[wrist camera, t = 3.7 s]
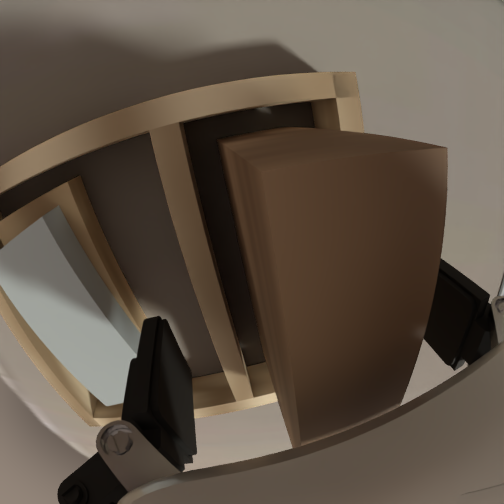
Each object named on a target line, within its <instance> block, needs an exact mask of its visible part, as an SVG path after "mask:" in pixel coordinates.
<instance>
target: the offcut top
mask: <svg viewBox="0 0 504 504" xmlns="http://www.w3.org/2000/svg"><path fill="white" fill-rule="evenodd" d="M0 285H1V287H2V288H3V290H4V291H5V293H6V294H7V296H8V297H9V299H10V300H11V302H12V303H13V304H14V306H15V307H16V309H17V310H18V311H19V313H20V314H21V315H22V317H23V318H24V319H25V321H26V322H27V323H28V325H29V326H30V327H31V328H32V330H33V331H34V332H35V333H36V335H37V336H38V337H39V338H40V340H41V341H42V342H43V343H44V344H45V345H46V347H47V348H48V349H49V350H50V351H51V352H52V353H53V355H54V356H55V357H56V358H57V359H58V360H59V361H60V362H61V363H62V364H63V365H64V366H65V367H66V369H67V370H68V371H69V372H70V373H71V374H72V375H73V376H74V377H75V378H76V379H77V380H78V381H79V382H80V383H81V384H82V385H84V386H85V387H86V388H87V389H88V390H89V391H90V392H91V393H92V394H93V395H94V396H95V397H96V398H98V399H99V400H100V401H101V402H102V403H103V404H104V405H106V406H111V405H116V404H120V403H123V402H124V395H125V389H126V383H127V377H128V371H129V366H130V362H131V360H132V359H133V358H136V357H137V351H138V346H139V340H140V335H141V333H140V332H139V330H138V329H137V328H136V327H135V325H134V324H133V323H132V321H131V320H130V319H129V317H128V316H127V315H126V313H125V312H124V310H123V309H122V308H121V306H120V305H119V303H118V302H117V301H116V299H115V298H114V296H113V295H112V293H111V292H110V291H109V289H108V288H107V286H106V285H105V283H104V282H103V280H102V279H101V277H100V276H99V274H98V272H97V271H96V269H95V268H94V266H93V265H92V263H91V261H90V260H89V258H88V257H87V255H86V253H85V252H84V250H83V248H82V247H81V245H80V243H79V241H78V240H77V238H76V236H75V234H74V233H73V231H72V229H71V227H70V226H69V224H68V222H67V220H66V218H65V216H64V214H63V213H62V211H61V209H60V207H59V205H58V206H57V207H55V208H54V209H52V210H51V211H50V212H48V213H47V214H45V215H44V216H42V217H41V218H40V219H38V220H37V221H36V222H34V223H33V224H32V225H30V226H29V227H28V228H26V229H25V230H24V231H22V232H21V233H20V234H19V235H17V236H16V237H15V238H14V239H12V240H11V241H10V242H9V243H8V244H6V245H5V246H4V247H3V248H2V249H0Z"/></svg>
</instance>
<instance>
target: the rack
mask: <svg viewBox="0 0 504 504" xmlns="http://www.w3.org/2000/svg"><path fill="white" fill-rule="evenodd" d="M302 102H311V106H312V112H313V118H314V125H315V128H318V129H331V130H342V131H351V132H360V133H364V127H363V119H362V111H361V104H360V97H359V91H358V84H357V79H356V73H355V72H316V73H298V74H285V75H274V76H265V77H257V78H250V79H243V80H237V81H230V82H225V83H219V84H214V85H209V86H204V87H199V88H195V89H190V90H186V91H182V92H178V93H174V94H170V95H166V96H163V97H159V98H156V99H152V100H149V101H145V102H142V103H139V104H136V105H133V106H130V107H127V108H124V109H121V110H118V111H115V112H112V113H110V114H107V115H104V116H102V117H99V118H96V119H94V120H91V121H89V122H86V123H84V124H82V125H79V126H77V127H75V128H72V129H70V130H68V131H66V132H64V133H61V134H59V135H57V136H55V137H53V138H51V139H49V140H47V141H45V142H43V143H41V144H39V145H37V146H35V147H33V148H31V149H29V150H28V151H26V152H24V153H22V154H20V155H19V156H17V157H15V158H13V159H12V160H10V161H8V162H7V163H5V164H3V165H2V166H0V195H1V194H3V193H5V192H7V191H8V190H10V189H12V188H14V187H16V186H18V185H20V184H21V183H23V182H25V181H27V180H29V179H31V178H33V177H35V176H37V175H39V174H42V173H44V172H46V171H48V170H50V169H52V168H54V167H57V166H59V165H61V164H64V163H66V162H68V161H71V160H73V159H75V158H78V157H80V156H83V155H85V154H88V153H90V152H93V151H96V150H98V149H101V148H104V147H106V146H109V145H112V144H115V143H118V142H121V141H124V140H127V139H130V138H133V137H136V136H139V135H142V134H146V133H149V132H150V137H151V141H152V145H153V149H154V154H155V158H156V162H157V166H158V170H159V174H160V177H161V181H162V185H163V189H164V193H165V196H166V200H167V204H168V207H169V211H170V214H171V218H172V221H173V225H174V228H175V231H176V235H177V238H178V241H179V245H180V248H181V251H182V254H183V258H184V261H185V264H186V267H187V270H188V273H189V276H190V279H191V282H192V285H193V288H194V291H195V294H196V297H197V300H198V303H199V306H200V309H201V312H202V314H203V317H204V320H205V323H206V326H207V328H208V331H209V334H210V337H211V339H212V342H213V345H214V347H215V350H216V352H217V355H218V358H219V360H220V363H221V365H222V368H223V370H224V372H221V373H216V374H211V375H206V376H201V377H196V378H192V386H193V405H194V419H195V418H201V417H207V416H213V415H219V414H224V413H229V412H234V411H239V410H244V409H248V408H253V407H257V406H261V405H265V404H269V403H273V402H277V401H278V399H277V396H276V393H275V390H274V386H273V383H272V380H271V377H270V373H269V370H268V367H267V364H266V362H264V363H260V364H256V365H252V366H248V367H246V364H245V360H244V357H243V354H242V350H241V347H240V344H239V340H238V337H237V334H236V330H235V327H234V323H233V320H232V316H231V313H230V309H229V306H228V302H227V299H226V295H225V292H224V288H223V284H222V281H221V277H220V273H219V270H218V266H217V262H216V258H215V255H214V251H213V247H212V243H211V239H210V235H209V231H208V228H207V224H206V220H205V216H204V212H203V208H202V204H201V199H200V195H199V191H198V187H197V183H196V179H195V174H194V170H193V166H192V161H191V157H190V153H189V148H188V144H187V139H186V135H185V130H184V125H183V123H186V122H190V121H194V120H198V119H203V118H207V117H212V116H217V115H222V114H227V113H232V112H237V111H243V110H249V109H255V108H262V107H268V106H276V105H284V104H292V103H302ZM1 220H3V217H2V214H1V211H0V221H1ZM3 247H4V246H3V243H2V241H1V239H0V249H2V248H3ZM0 313H1V315H2V317H3V318H4V320H5V322H6V323H7V325H8V327H9V328H10V330H11V331H12V333H13V334H14V336H15V337H16V339H17V340H18V342H19V343H20V345H21V346H22V348H23V349H24V351H25V352H26V353H27V355H28V356H29V358H30V359H31V360H32V362H33V363H34V364H35V366H36V367H37V368H38V369H39V371H40V372H41V373H42V375H43V376H44V377H45V378H46V380H47V381H48V382H49V383H50V384H51V386H52V387H53V388H54V389H55V390H56V391H57V393H58V394H59V395H60V396H61V397H62V398H63V399H64V400H65V401H66V403H67V404H68V405H69V406H70V407H71V408H72V409H73V410H74V411H75V412H76V413H77V414H78V415H79V416H80V417H81V418H82V419H83V420H84V421H85V422H86V423H87V424H88V425H89V426H105V425H106V424H108V423H110V422H113V421H116V420H121V416H122V409H123V403H120V404H116V405H111V406H106V405H104V404H103V403H102V402H101V401H100V400H99V399H98V398H96V397H95V396H94V395H93V394H92V393H91V392H90V391H89V390H88V389H87V388H86V387H85V386H84V385H82V384H81V383H80V382H79V381H78V380H77V379H76V378H75V377H74V376H73V375H72V374H71V373H70V372H69V371H68V370H67V369H66V367H65V366H64V365H63V364H62V363H61V362H60V361H59V360H58V359H57V358H56V357H55V356H54V355H53V353H52V352H51V351H50V350H49V349H48V348H47V347H46V345H45V344H44V343H43V342H42V341H41V340H40V338H39V337H38V336H37V335H36V333H35V332H34V331H33V330H32V328H31V327H30V326H29V325H28V323H27V322H26V321H25V319H24V318H23V317H22V315H21V314H20V313H19V311H18V310H17V309H16V307H15V306H14V304H13V303H12V302H11V300H10V299H9V297H8V296H7V294H6V293H5V291H4V290H3V288H2V287H1V285H0Z"/></svg>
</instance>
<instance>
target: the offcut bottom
mask: <svg viewBox="0 0 504 504" xmlns="http://www.w3.org/2000/svg"><path fill="white" fill-rule="evenodd" d="M58 205H59V207H60V209H61V211H62V213H63V214H64V216H65V218H66V220H67V222H68V224H69V226H70V227H71V229H72V231H73V233H74V234H75V236H76V238H77V240H78V241H79V243H80V245H81V247H82V248H83V250H84V252H85V253H86V255H87V257H88V258H89V260H90V261H91V263H92V265H93V266H94V268H95V269H96V271H97V272H98V274H99V276H100V277H101V279H102V280H103V282H104V283H105V285H106V286H107V288H108V289H109V291H110V292H111V293H112V295H113V296H114V298H115V299H116V301H117V302H118V303H119V305H120V306H121V308H122V309H123V310H124V312H125V313H126V315H127V316H128V317H129V319H130V320H131V321H132V323H133V324H134V325H135V327H136V328H137V329H138V330H139V332H140V333H141V330H142V325H143V321H144V319H147V318H146V316H145V314H144V312H143V310H142V309H141V307H140V305H139V303H138V302H137V300H136V298H135V296H134V294H133V292H132V290H131V289H130V287H129V285H128V283H127V281H126V279H125V277H124V275H123V273H122V271H121V269H120V267H119V265H118V263H117V261H116V259H115V257H114V255H113V253H112V251H111V249H110V246H109V244H108V242H107V240H106V238H105V235H104V233H103V231H102V229H101V226H100V224H99V222H98V220H97V217H96V215H95V212H94V210H93V208H92V205H91V203H90V200H89V198H88V195H87V192H86V190H85V187H84V185H83V182H82V179H81V176H78V177H76V178H74V179H72V180H70V181H68V182H66V183H64V184H62V185H60V186H58V187H56V188H54V189H53V190H51V191H49V192H47V193H45V194H44V195H42V196H40V197H38V198H37V199H35V200H33V201H31V202H30V203H28V204H26V205H25V206H23V207H22V208H20V209H18V210H17V211H15V212H13V213H12V214H10V215H9V216H7V217H6V218H4V219H3V220H1V221H0V239H1V241H2V243H3V246H5V245H6V244H8V243H9V242H10V241H11V240H12V239H14V238H15V237H16V236H17V235H19V234H20V233H21V232H22V231H24V230H25V229H26V228H28V227H29V226H30V225H32V224H33V223H34V222H36V221H37V220H38V219H40V218H41V217H42V216H44V215H45V214H47V213H48V212H50V211H51V210H52V209H54V208H55V207H57V206H58Z"/></svg>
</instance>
